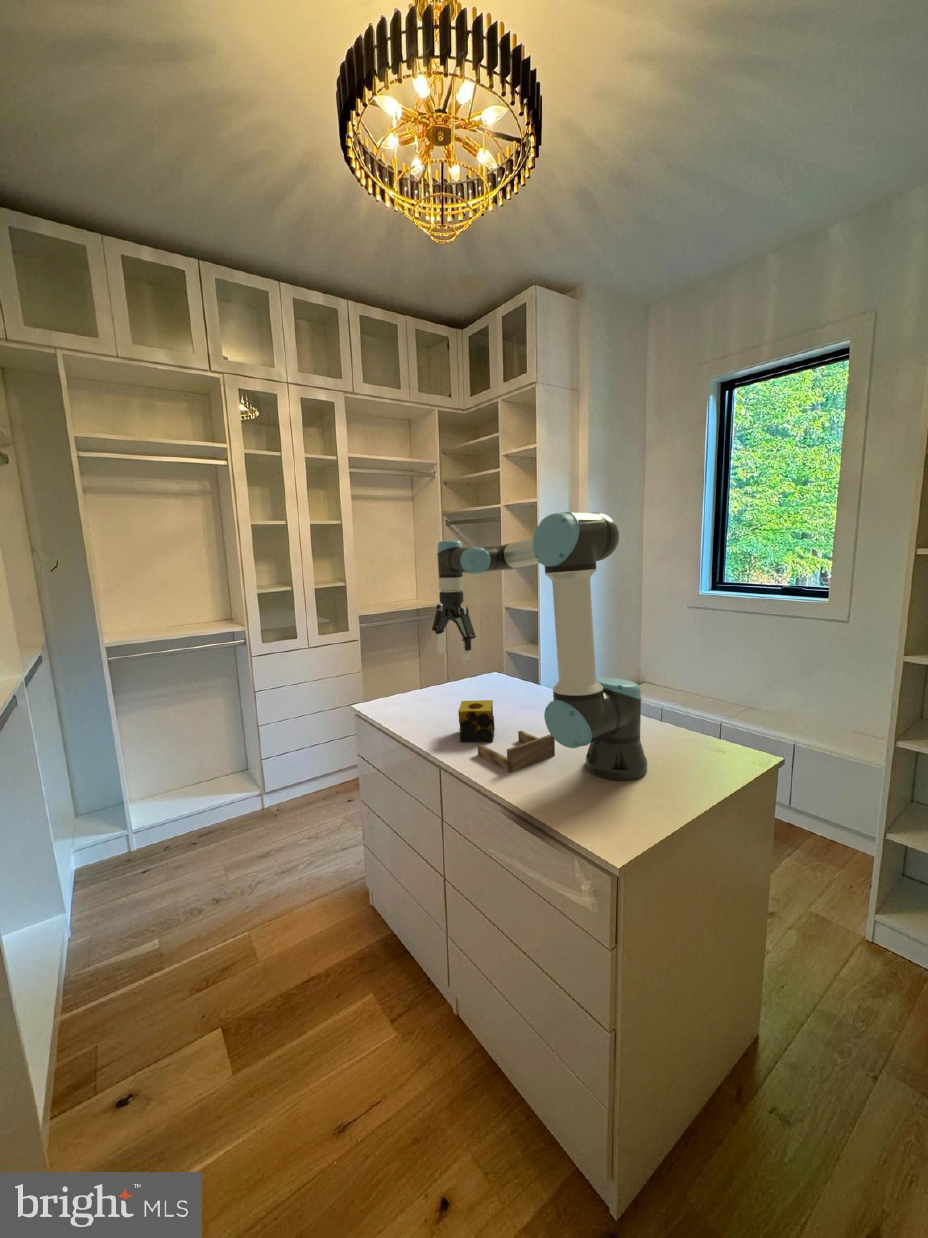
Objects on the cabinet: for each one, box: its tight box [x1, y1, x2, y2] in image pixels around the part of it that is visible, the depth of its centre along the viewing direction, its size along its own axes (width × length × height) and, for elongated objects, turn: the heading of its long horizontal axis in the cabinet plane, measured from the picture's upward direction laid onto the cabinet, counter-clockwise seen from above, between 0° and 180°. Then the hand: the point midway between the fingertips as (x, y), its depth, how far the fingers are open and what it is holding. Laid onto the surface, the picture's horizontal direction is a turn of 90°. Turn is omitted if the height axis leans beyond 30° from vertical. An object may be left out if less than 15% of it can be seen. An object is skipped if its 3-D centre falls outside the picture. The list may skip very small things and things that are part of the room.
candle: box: [457, 699, 496, 743], centre depth 152 cm, size 10×10×10 cm
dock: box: [477, 730, 556, 773], centre depth 137 cm, size 14×16×6 cm
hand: (453, 656), depth 159 cm, fingers open, 13 cm apart
